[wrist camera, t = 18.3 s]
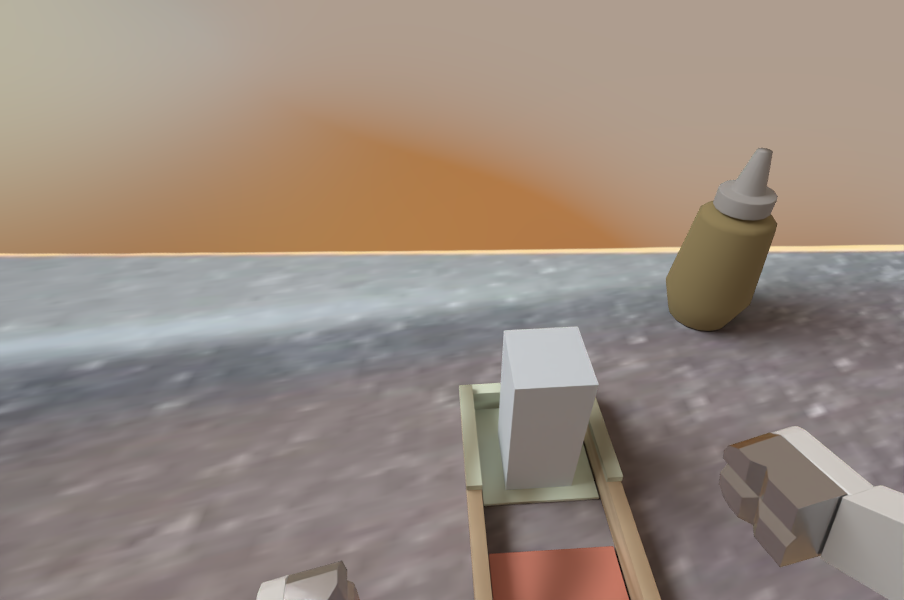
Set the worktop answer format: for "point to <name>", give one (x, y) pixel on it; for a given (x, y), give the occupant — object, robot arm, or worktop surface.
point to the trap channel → (551, 571)
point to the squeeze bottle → (724, 250)
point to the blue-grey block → (543, 406)
